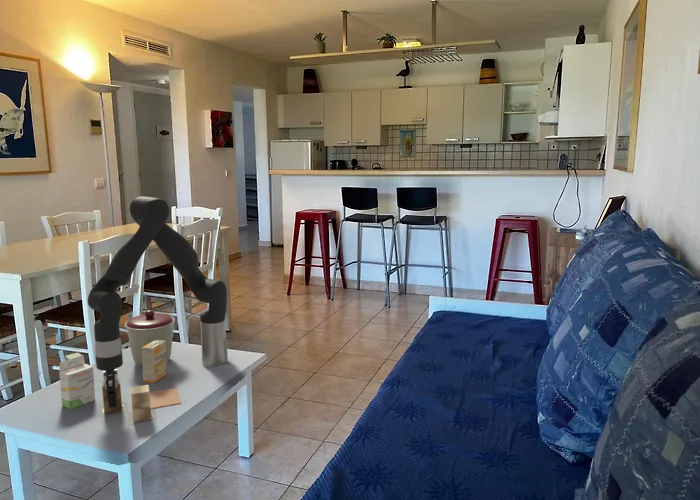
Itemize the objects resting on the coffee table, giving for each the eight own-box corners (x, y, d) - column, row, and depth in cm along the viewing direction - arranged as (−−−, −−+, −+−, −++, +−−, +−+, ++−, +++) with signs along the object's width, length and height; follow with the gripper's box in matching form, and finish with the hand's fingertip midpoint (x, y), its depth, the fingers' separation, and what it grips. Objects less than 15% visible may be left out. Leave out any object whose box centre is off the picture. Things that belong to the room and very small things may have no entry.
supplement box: (155, 383, 178) (153, 348, 175) (143, 382, 178) (140, 347, 176) (168, 374, 185) (166, 340, 183) (156, 372, 186) (154, 339, 184)
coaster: (176, 388, 174) (176, 387, 174) (181, 403, 163) (181, 402, 163) (139, 395, 169) (139, 393, 169) (141, 411, 158) (141, 409, 158)
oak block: (150, 411, 158) (148, 384, 156) (151, 418, 153) (149, 391, 152) (132, 414, 156) (130, 387, 154) (133, 422, 151) (131, 394, 150)
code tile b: (154, 408, 160) (154, 408, 160) (156, 420, 153) (156, 420, 153) (127, 413, 156) (127, 413, 156) (128, 425, 149) (128, 425, 149)
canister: (164, 372, 187) (160, 318, 183) (117, 370, 188) (113, 316, 184) (184, 354, 204) (182, 304, 200) (142, 352, 206) (138, 302, 202)
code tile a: (126, 401, 164) (126, 400, 164) (127, 412, 157) (127, 411, 157) (99, 405, 161) (99, 405, 161) (98, 417, 154) (98, 417, 154)
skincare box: (88, 390, 172) (85, 356, 170) (74, 394, 169) (71, 360, 167) (81, 384, 176) (78, 351, 174) (67, 388, 173) (64, 355, 171)
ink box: (70, 410, 158) (66, 366, 156) (61, 406, 161) (57, 362, 158) (96, 399, 165) (92, 357, 163) (87, 395, 168) (84, 354, 165)
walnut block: (121, 403, 162) (119, 377, 161) (122, 410, 158) (120, 383, 156) (104, 406, 160) (102, 380, 159) (104, 413, 156) (102, 386, 154)
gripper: (122, 358, 151) (126, 410, 154) (121, 342, 164) (125, 391, 167) (94, 362, 148) (99, 415, 151) (95, 346, 161) (100, 395, 164)
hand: (112, 402), depth 159 cm, fingers closed on walnut block, 5 cm apart
